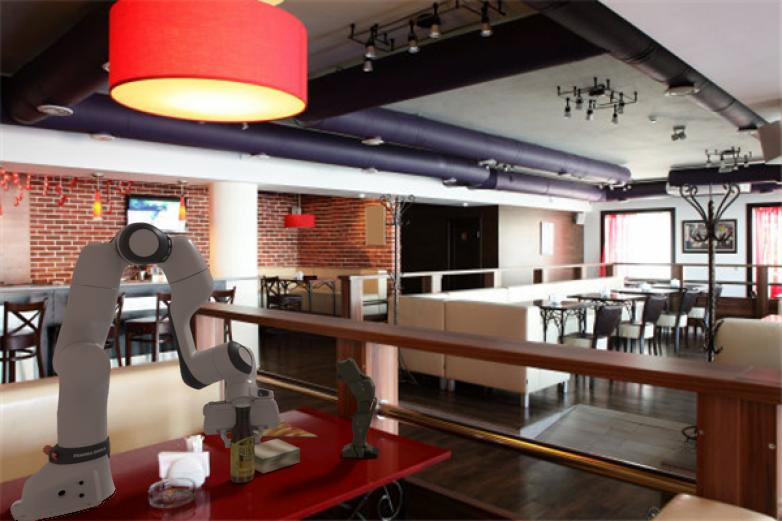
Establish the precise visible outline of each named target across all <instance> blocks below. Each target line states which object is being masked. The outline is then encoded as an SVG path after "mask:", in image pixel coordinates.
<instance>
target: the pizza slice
mask: <svg viewBox="0 0 782 521" xmlns="http://www.w3.org/2000/svg"><path fill="white" fill-rule="evenodd" d="M253 432H254V435H255V436H258V434H259V432H258V430H257V431H253ZM261 438H318V435H316V434H313V433H312V432H308V431H307V430H304V429H301V428H299V427H296V426H294V425H291V424H289V423H287V422H286V420H285V419H284V418H280V425H279V427H278V428H277V429H268V430H264V433H263V435H262V437H261Z"/></svg>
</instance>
